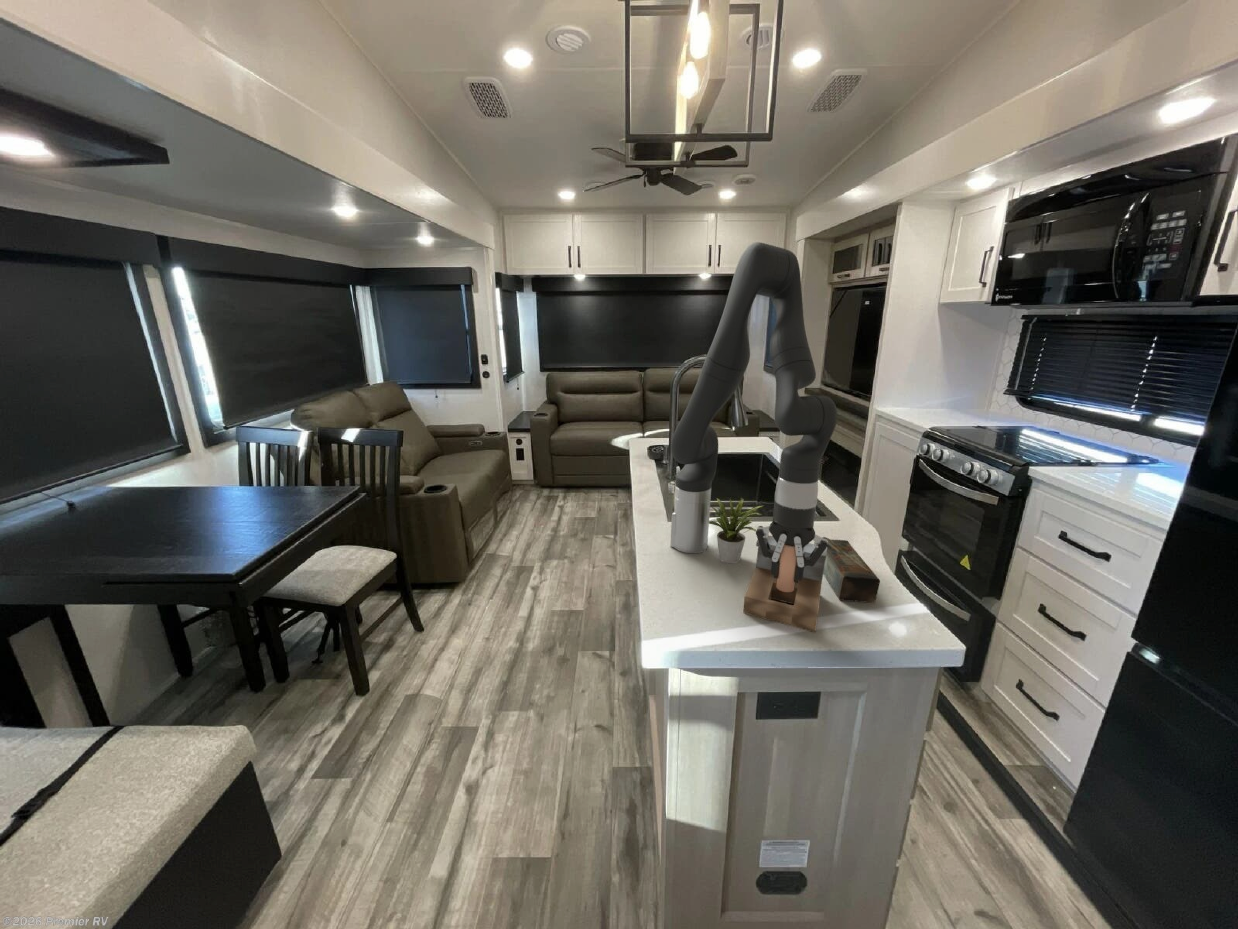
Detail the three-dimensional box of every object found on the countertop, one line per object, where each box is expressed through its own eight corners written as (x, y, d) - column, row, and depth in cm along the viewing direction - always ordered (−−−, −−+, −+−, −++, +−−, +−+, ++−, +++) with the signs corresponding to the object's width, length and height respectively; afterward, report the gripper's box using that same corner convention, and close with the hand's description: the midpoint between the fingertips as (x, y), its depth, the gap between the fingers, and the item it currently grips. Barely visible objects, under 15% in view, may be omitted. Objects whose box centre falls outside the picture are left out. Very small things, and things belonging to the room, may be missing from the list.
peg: (777, 581, 95) (782, 538, 92) (794, 585, 94) (800, 541, 91) (775, 589, 92) (780, 545, 89) (793, 593, 91) (798, 549, 88)
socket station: (742, 612, 95) (748, 561, 91) (755, 579, 107) (760, 533, 103) (815, 632, 89) (823, 578, 85) (819, 595, 101) (827, 546, 97)
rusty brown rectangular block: (845, 560, 116) (849, 537, 114) (877, 605, 98) (882, 578, 96) (812, 558, 117) (816, 535, 115) (838, 603, 99) (843, 576, 96)
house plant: (762, 578, 107) (769, 515, 102) (703, 572, 110) (707, 510, 105) (757, 550, 120) (763, 492, 115) (704, 545, 123) (708, 488, 118)
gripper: (836, 499, 87) (824, 577, 93) (760, 488, 93) (753, 562, 98) (835, 513, 81) (822, 596, 86) (754, 500, 87) (747, 579, 92)
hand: (786, 578), depth 92 cm, fingers closed on peg, 3 cm apart
